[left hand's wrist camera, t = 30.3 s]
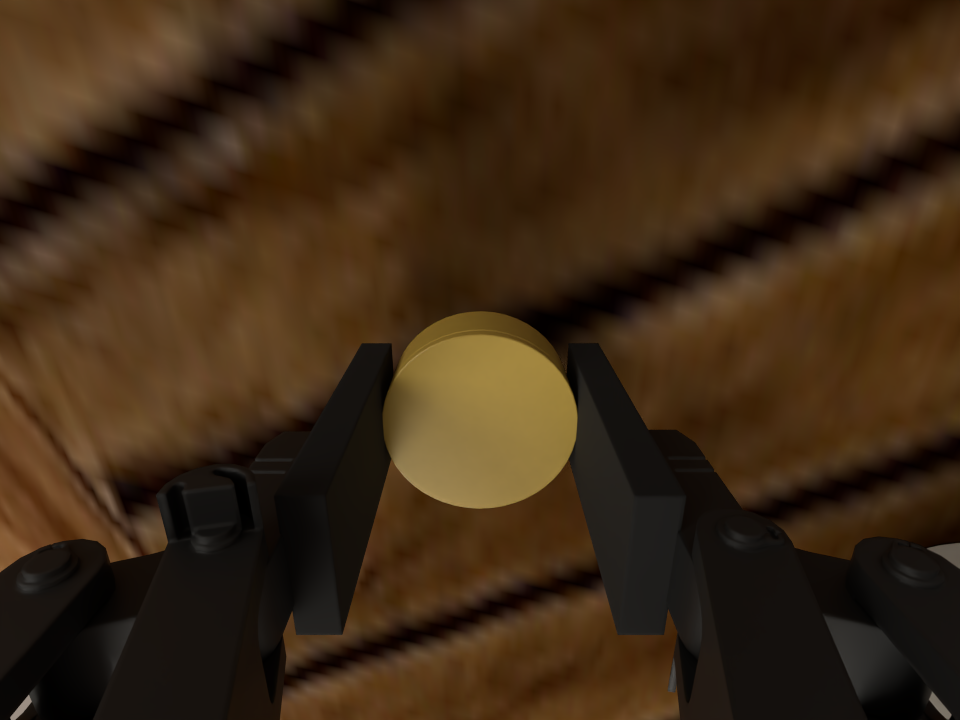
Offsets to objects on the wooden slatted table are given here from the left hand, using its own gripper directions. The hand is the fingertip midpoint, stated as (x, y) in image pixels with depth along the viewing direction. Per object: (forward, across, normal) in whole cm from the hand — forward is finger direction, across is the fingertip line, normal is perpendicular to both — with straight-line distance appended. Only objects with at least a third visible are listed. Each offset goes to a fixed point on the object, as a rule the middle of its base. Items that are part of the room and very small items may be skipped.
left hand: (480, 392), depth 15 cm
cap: (-2, 0, 0) cm, 2 cm away
